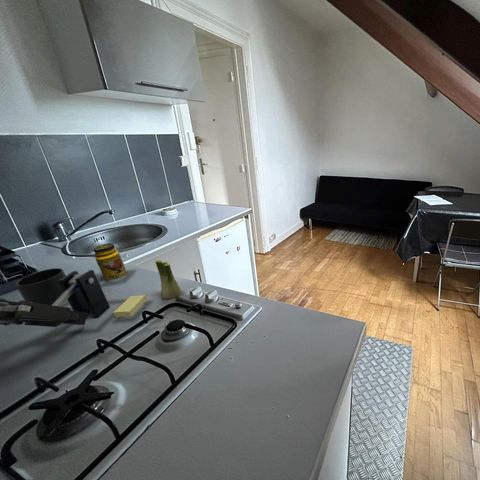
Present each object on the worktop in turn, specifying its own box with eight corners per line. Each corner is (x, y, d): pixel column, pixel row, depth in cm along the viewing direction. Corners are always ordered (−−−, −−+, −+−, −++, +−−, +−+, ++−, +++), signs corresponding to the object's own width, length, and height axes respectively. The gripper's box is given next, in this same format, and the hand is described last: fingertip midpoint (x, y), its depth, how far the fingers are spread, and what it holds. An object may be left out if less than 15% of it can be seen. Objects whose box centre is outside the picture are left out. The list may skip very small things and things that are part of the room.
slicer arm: (60, 321, 56) (53, 314, 54) (34, 323, 56) (26, 316, 54) (96, 279, 65) (91, 273, 64) (74, 281, 65) (68, 274, 64)
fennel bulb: (183, 301, 72) (171, 262, 68) (163, 307, 70) (150, 268, 65) (181, 291, 77) (170, 255, 72) (163, 297, 75) (149, 260, 70)
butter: (133, 320, 66) (129, 311, 64) (117, 322, 66) (112, 312, 64) (148, 303, 72) (145, 294, 71) (134, 304, 72) (130, 295, 71)
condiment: (123, 283, 84) (109, 249, 79) (93, 287, 82) (77, 253, 77) (133, 272, 90) (121, 240, 86) (105, 276, 89) (91, 244, 84)
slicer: (96, 332, 62) (74, 287, 57) (58, 335, 62) (32, 290, 57) (128, 302, 73) (112, 262, 68) (96, 304, 73) (77, 264, 68)
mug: (78, 287, 83) (65, 261, 79) (74, 304, 74) (60, 276, 71) (37, 298, 78) (21, 272, 74) (28, 319, 69) (10, 290, 65)
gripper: (5, 276, 41) (114, 300, 62) (-116, 285, 41) (36, 306, 62) (-16, 326, 38) (107, 333, 60) (-145, 336, 38) (25, 339, 59)
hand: (70, 319), depth 61 cm, fingers closed on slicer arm, 5 cm apart
